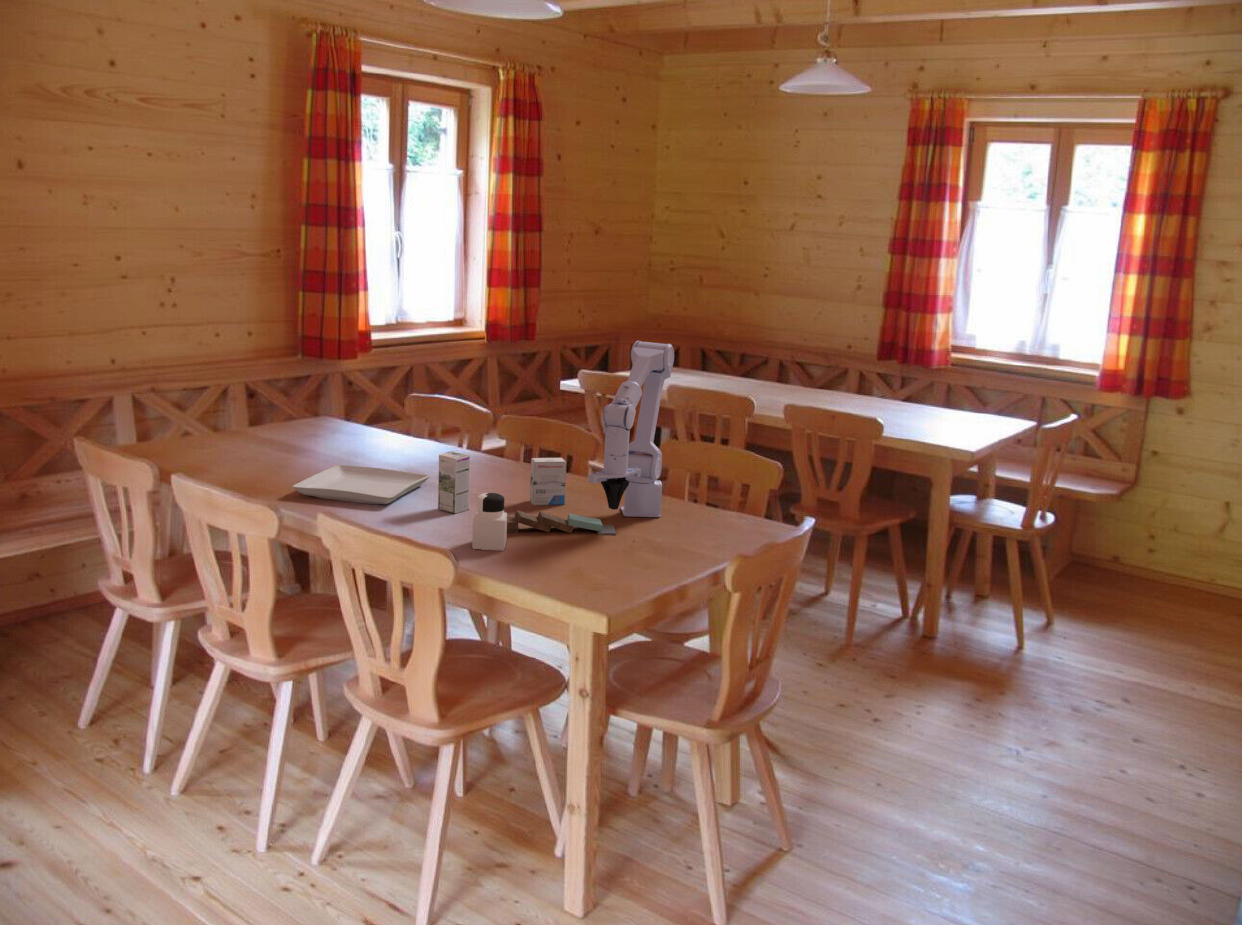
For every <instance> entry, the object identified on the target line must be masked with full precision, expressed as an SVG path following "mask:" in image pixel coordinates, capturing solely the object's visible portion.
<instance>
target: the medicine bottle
mask: <svg viewBox="0 0 1242 925" xmlns="http://www.w3.org/2000/svg"><path fill="white" fill-rule="evenodd" d="M476 502H477V504H476V506H477V508H476V512H475V514H474V517H473V519H472V520H473V521H472V546H471V548H473V549H472V550H474V549H481V550H480V551H496V552H497V551H498V552H499V551H500V552H501V551H504V550H505V548H506V544H507V533H508V532H507V516H508V513H507V511H506V512H505V497H504V495H501V494H499V493H497V492H484V493H481V494H479V495H478V496H477V501H476Z"/></svg>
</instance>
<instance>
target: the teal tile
mask: <svg viewBox="0 0 1242 925" xmlns="http://www.w3.org/2000/svg"><path fill="white" fill-rule="evenodd" d="M566 518H567V519H566V520H567V521H568V524H569V525H570V526H573V527H576V528H581V529H586V530H591V531H596V532H597V531H601V530H602V526H603V525H604V524H603V523H602V520H601V519H599V518H594V517H590V516H583V515H579V514H574V513H569V512H568V514H567V517H566Z"/></svg>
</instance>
